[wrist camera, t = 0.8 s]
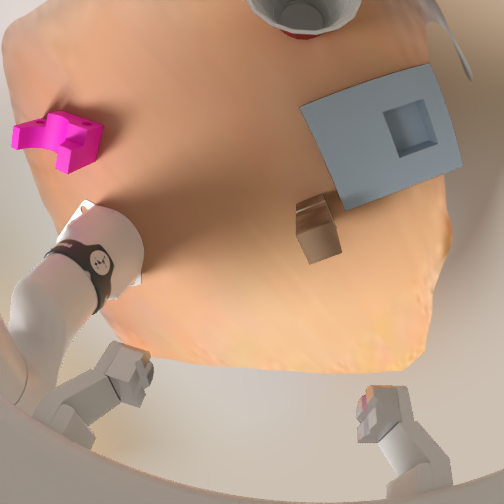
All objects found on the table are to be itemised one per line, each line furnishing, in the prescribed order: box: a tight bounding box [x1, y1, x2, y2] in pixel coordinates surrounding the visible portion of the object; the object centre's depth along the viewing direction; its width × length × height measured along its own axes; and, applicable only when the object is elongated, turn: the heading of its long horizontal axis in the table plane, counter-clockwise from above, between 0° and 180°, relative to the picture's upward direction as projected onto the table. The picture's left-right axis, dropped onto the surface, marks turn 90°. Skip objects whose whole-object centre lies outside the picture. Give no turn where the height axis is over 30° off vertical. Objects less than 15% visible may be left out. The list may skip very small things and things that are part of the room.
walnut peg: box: [295, 193, 342, 264], centre depth 36 cm, size 4×4×10 cm
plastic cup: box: [247, 0, 362, 39], centre depth 22 cm, size 11×11×12 cm
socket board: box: [299, 64, 463, 211], centre depth 32 cm, size 18×14×4 cm
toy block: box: [11, 111, 104, 174], centre depth 36 cm, size 15×6×8 cm, turn 66°
